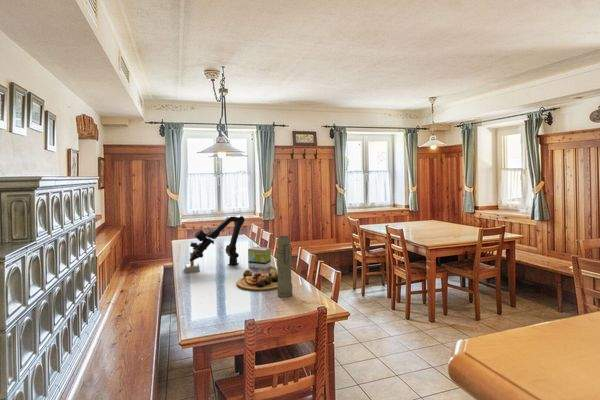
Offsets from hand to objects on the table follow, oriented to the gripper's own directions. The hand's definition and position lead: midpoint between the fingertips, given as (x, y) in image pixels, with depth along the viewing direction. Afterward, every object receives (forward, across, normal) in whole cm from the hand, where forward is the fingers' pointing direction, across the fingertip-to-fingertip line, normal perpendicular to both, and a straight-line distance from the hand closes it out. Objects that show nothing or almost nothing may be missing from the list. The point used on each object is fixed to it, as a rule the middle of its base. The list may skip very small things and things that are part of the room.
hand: (190, 260), depth 282 cm
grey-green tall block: (-26, +84, +38) cm, 96 cm away
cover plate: (+2, -2, +5) cm, 6 cm away
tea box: (-30, +12, +42) cm, 53 cm away
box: (+4, -2, +6) cm, 8 cm away
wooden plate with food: (-22, +55, +34) cm, 68 cm away
